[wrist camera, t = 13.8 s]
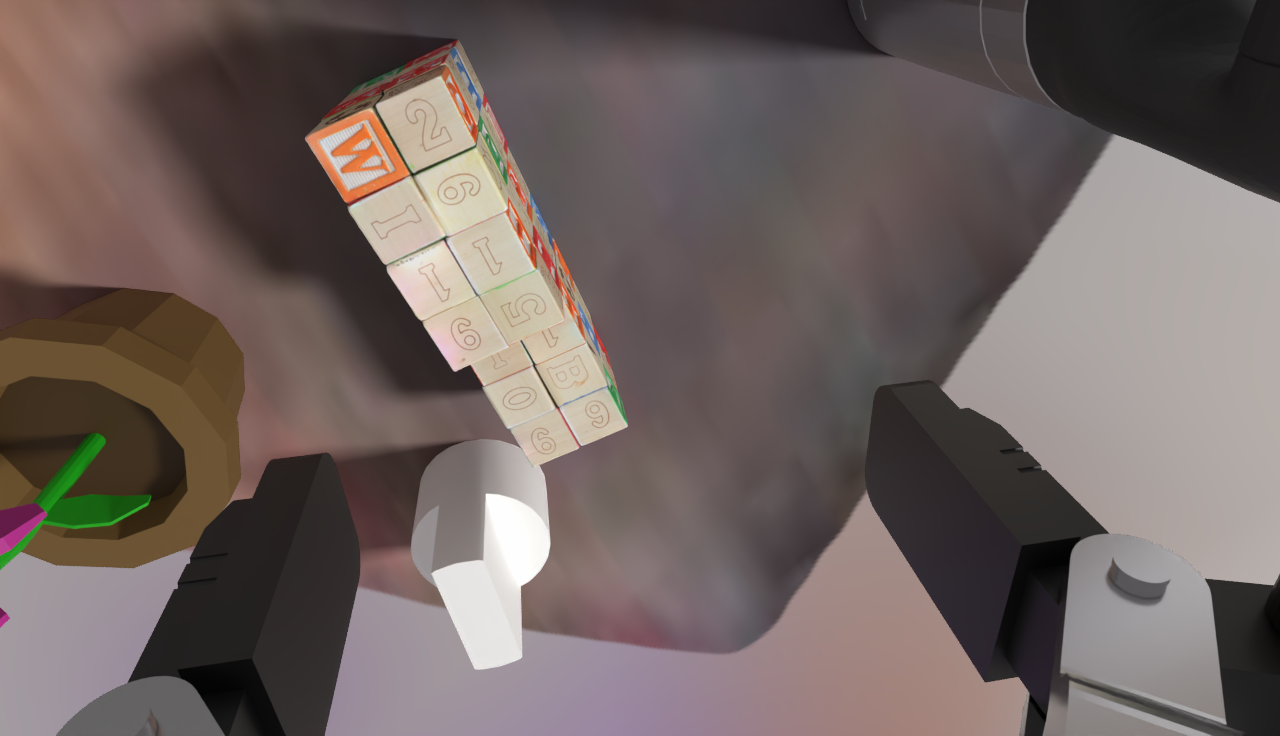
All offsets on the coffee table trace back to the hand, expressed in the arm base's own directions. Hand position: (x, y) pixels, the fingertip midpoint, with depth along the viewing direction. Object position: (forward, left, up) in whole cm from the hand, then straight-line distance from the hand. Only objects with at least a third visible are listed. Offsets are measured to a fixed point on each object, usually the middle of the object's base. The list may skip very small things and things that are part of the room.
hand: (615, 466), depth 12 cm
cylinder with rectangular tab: (+7, +28, -36) cm, 46 cm away
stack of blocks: (+3, +9, -36) cm, 38 cm away
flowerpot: (+25, +15, -36) cm, 47 cm away
